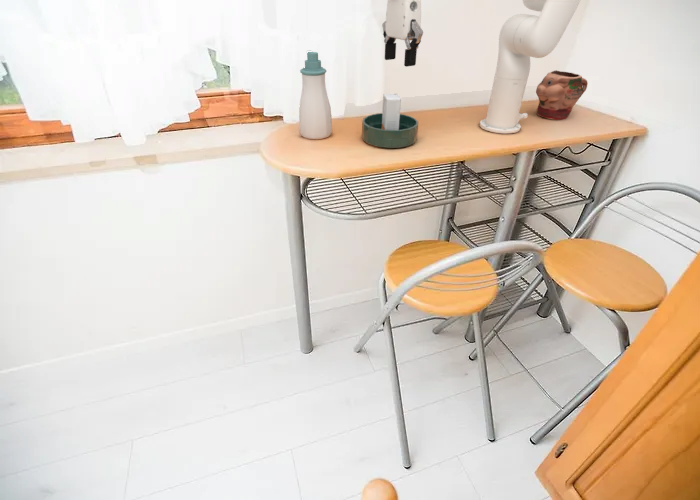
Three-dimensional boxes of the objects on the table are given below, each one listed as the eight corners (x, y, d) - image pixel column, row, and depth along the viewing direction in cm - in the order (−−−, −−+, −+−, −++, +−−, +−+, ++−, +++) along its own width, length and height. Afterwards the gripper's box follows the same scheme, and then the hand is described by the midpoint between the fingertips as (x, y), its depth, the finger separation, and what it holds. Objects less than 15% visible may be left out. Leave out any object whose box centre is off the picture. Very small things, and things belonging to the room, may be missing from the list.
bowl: (397, 127, 128) (398, 110, 125) (427, 144, 116) (429, 125, 113) (352, 135, 122) (352, 117, 119) (379, 153, 110) (380, 134, 107)
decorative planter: (561, 107, 147) (574, 67, 139) (589, 117, 138) (605, 74, 130) (520, 113, 141) (531, 71, 133) (546, 124, 132) (560, 79, 124)
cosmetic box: (380, 134, 121) (383, 93, 114) (394, 134, 121) (397, 93, 114) (383, 141, 116) (386, 99, 109) (398, 141, 117) (401, 98, 110)
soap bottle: (326, 128, 127) (324, 49, 114) (336, 138, 120) (335, 55, 107) (296, 131, 124) (290, 51, 111) (304, 142, 117) (299, 57, 104)
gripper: (438, -13, 92) (430, 67, 102) (397, -16, 104) (394, 55, 114) (411, -12, 89) (405, 70, 99) (372, -15, 102) (371, 58, 112)
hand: (399, 62), depth 107 cm, fingers open, 9 cm apart
